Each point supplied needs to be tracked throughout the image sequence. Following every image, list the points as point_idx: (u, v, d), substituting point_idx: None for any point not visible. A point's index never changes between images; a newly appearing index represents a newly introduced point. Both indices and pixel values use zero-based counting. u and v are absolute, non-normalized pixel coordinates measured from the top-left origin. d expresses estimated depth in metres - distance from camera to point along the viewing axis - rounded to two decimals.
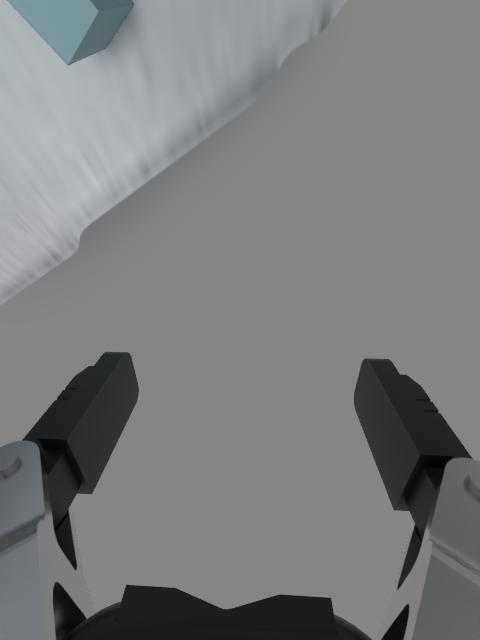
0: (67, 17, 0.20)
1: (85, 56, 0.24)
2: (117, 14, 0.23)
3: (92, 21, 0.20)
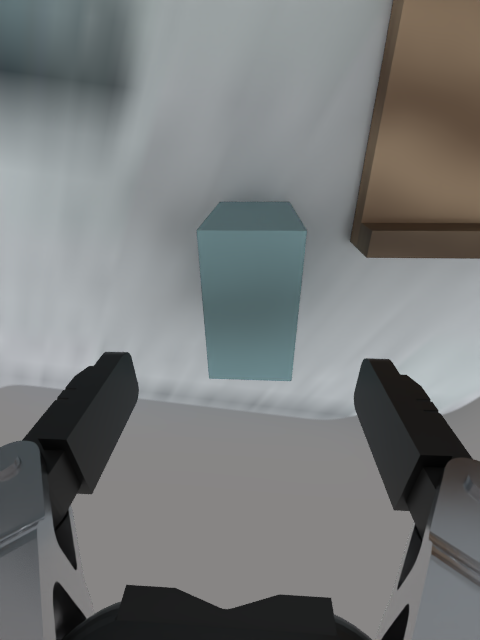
0: (254, 362, 0.15)
1: None
2: None
3: (276, 379, 0.16)
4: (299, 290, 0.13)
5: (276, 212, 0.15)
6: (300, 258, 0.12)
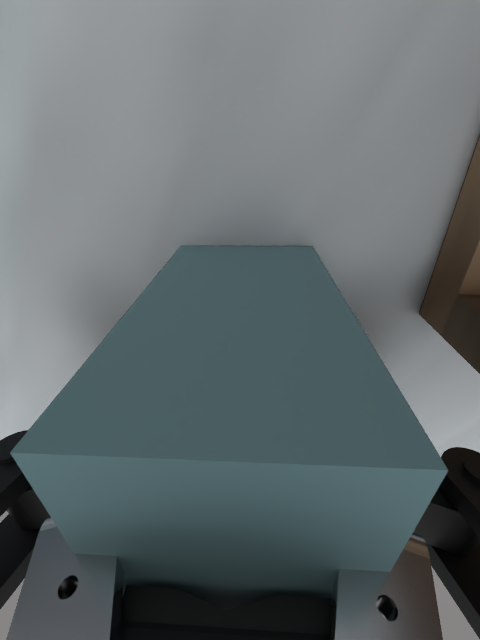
0: None
1: None
2: None
3: None
4: None
5: (295, 293, 0.06)
6: (402, 529, 0.03)
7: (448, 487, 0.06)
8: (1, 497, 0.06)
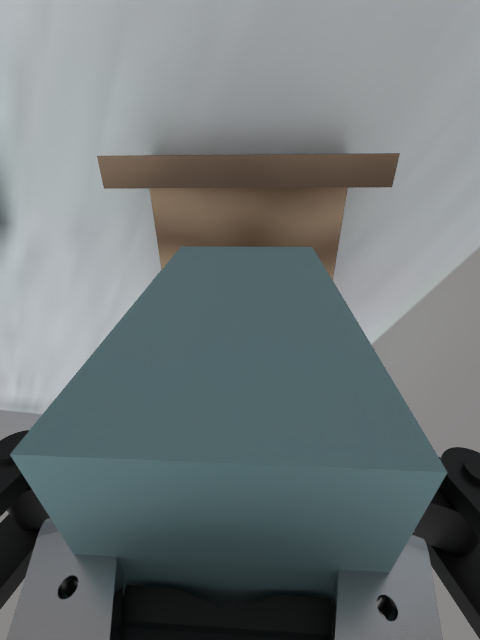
0: None
1: None
2: None
3: None
4: None
5: (295, 294, 0.06)
6: (401, 531, 0.03)
7: (448, 487, 0.06)
8: (1, 497, 0.06)
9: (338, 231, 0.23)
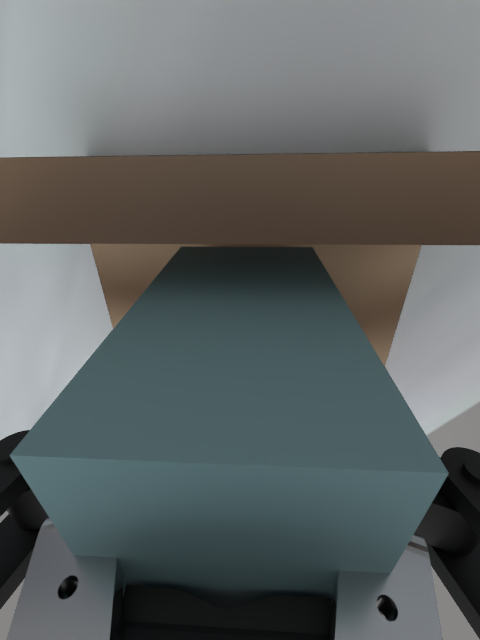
0: None
1: None
2: None
3: None
4: None
5: (295, 294, 0.06)
6: (402, 532, 0.03)
7: (448, 487, 0.06)
8: (1, 497, 0.06)
9: (406, 283, 0.14)
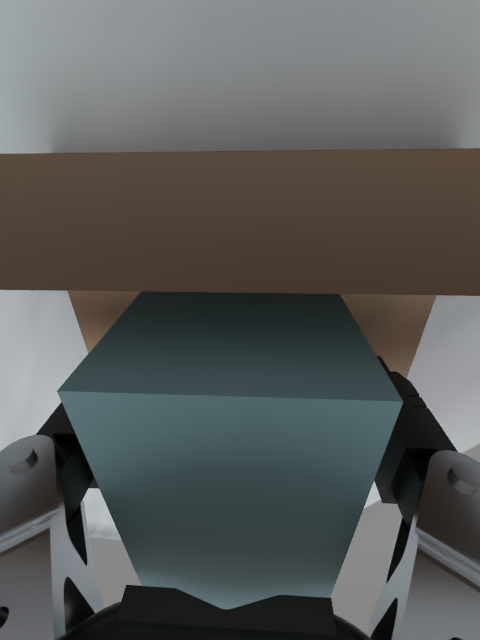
0: (245, 599, 0.07)
1: None
2: None
3: None
4: (358, 512, 0.05)
5: None
6: (371, 459, 0.04)
7: None
8: None
9: (428, 305, 0.12)
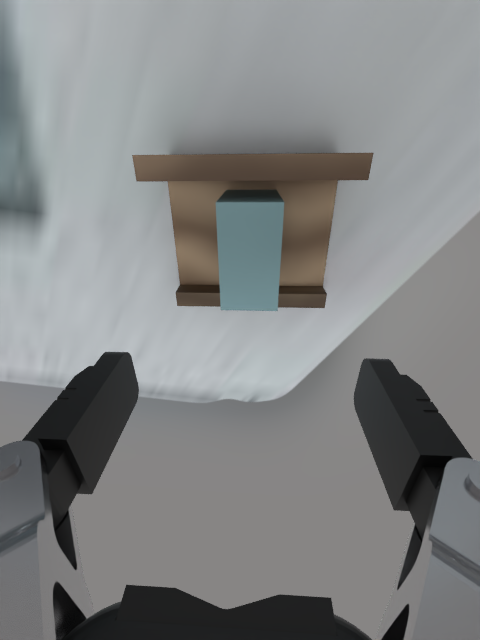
0: (252, 296, 0.22)
1: None
2: None
3: (267, 310, 0.23)
4: (281, 242, 0.20)
5: (266, 194, 0.22)
6: (281, 220, 0.19)
7: None
8: None
9: (330, 220, 0.27)
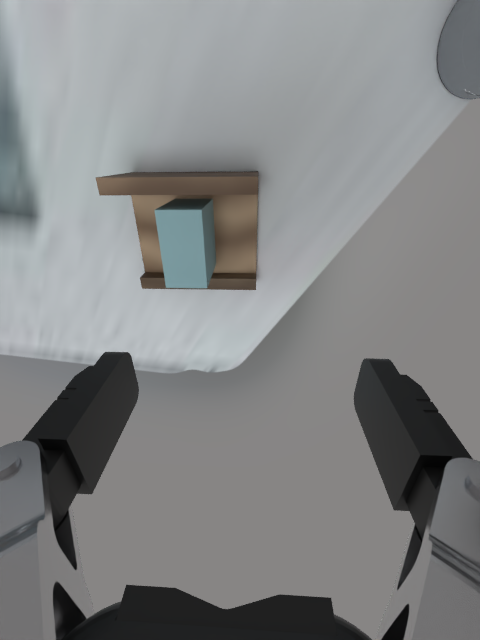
0: (187, 277, 0.31)
1: None
2: None
3: (199, 287, 0.31)
4: (203, 238, 0.28)
5: (198, 203, 0.31)
6: (200, 222, 0.28)
7: None
8: None
9: (255, 221, 0.35)
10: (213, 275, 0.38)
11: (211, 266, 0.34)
